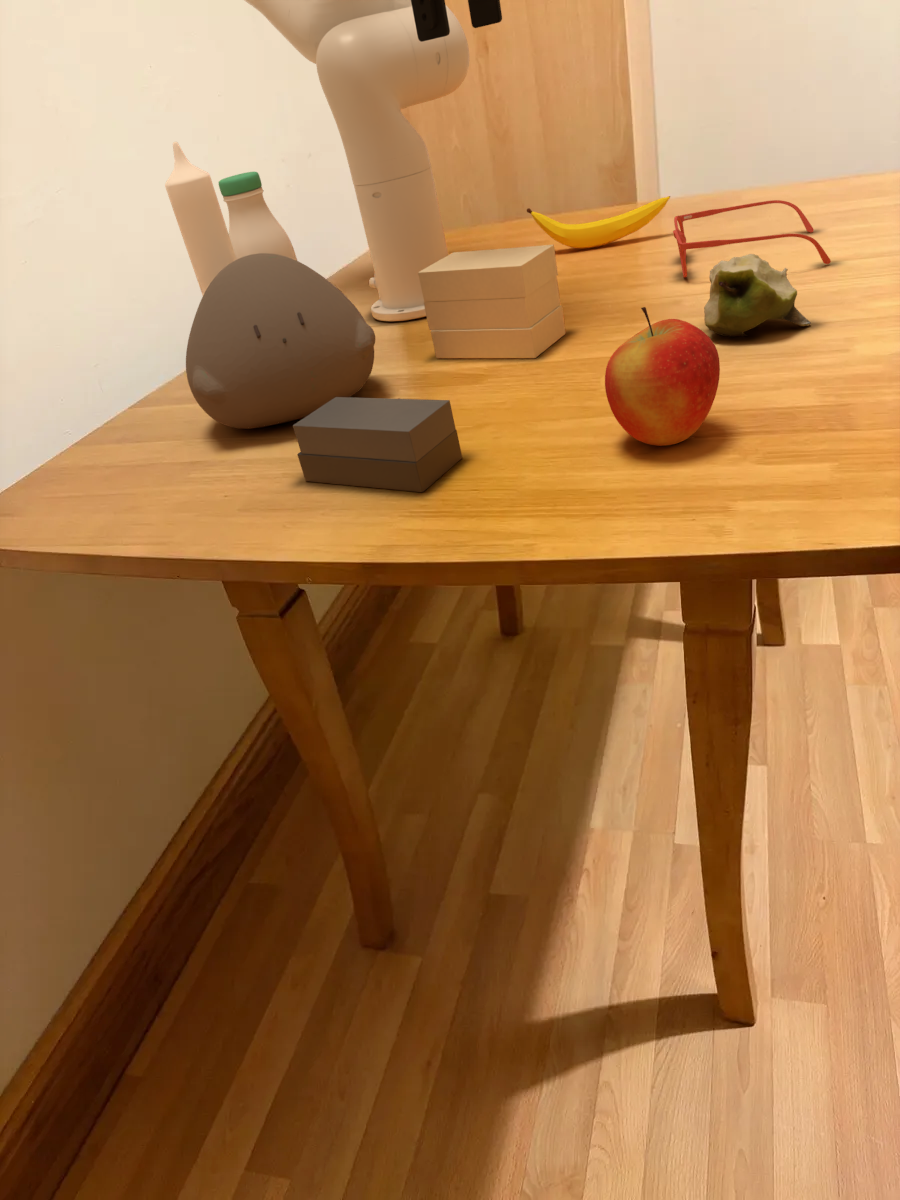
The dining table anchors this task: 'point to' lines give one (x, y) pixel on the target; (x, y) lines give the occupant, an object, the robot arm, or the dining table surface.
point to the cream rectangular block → (489, 274)
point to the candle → (199, 219)
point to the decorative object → (274, 343)
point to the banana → (599, 226)
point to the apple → (663, 381)
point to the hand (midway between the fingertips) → (462, 31)
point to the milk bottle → (252, 218)
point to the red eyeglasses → (703, 244)
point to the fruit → (749, 296)
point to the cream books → (497, 325)
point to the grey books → (378, 442)
